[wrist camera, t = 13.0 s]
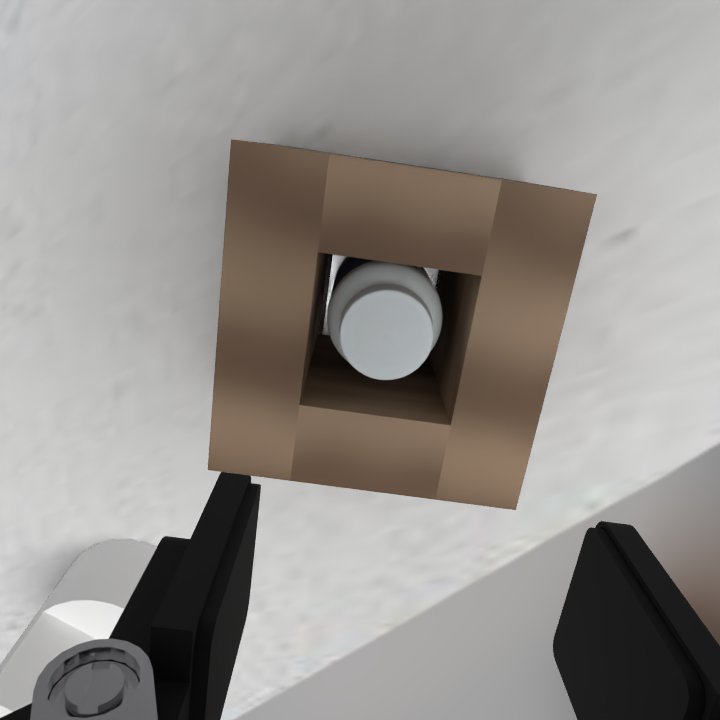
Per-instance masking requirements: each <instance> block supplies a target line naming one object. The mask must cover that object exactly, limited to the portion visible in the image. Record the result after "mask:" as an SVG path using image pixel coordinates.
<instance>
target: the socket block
mask: <svg viewBox="0 0 720 720" xmlns="http://www.w3.org/2000/svg"><path fill="white" fill-rule="evenodd" d="M596 196H597V194H591V193H585V192H579V191H574V190H568V189H562V188H556V187H550V186H544V185H538V184H533V183H527V182H520V181H514V180H507V179H500V178H494V177H487V176H480V175H474V174H467V173H461V172H454V171H447V170H441V169H434V168H427V167H421V166H414V165H407V164H401V163H394V162H387V161H381V160H374V159H368V158H361V157H354V156H348V155H341V154H334V153H328V152H321V151H314V150H308V149H301V148H294V147H288V146H281V145H275V144H266V143H257V142H249V141H240V140H231V150H230V164H229V178H228V193H227V207H226V221H225V235H224V249H223V263H222V277H221V291H220V305H219V319H218V333H217V347H216V361H215V375H214V389H213V404H212V418H211V432H210V446H209V460H208V470H213V471H221V472H228V473H236V474H244V475H251V476H259V477H267V478H274V479H282V480H290V481H297V482H305V483H313V484H320V485H328V486H336V487H343V488H351V489H359V490H366V491H374V492H382V493H390V494H397V495H405V496H413V497H420V498H428V499H436V500H443V501H451V502H459V503H466V504H474V505H482V506H489V507H497V508H505V509H512V510H516V506H517V503H518V499H519V495H520V491H521V487H522V483H523V479H524V475H525V472H526V468H527V464H528V460H529V456H530V452H531V448H532V444H533V441H534V437H535V433H536V429H537V425H538V421H539V417H540V413H541V410H542V406H543V402H544V398H545V394H546V390H547V386H548V382H549V378H550V375H551V371H552V367H553V363H554V359H555V355H556V351H557V347H558V344H559V340H560V336H561V332H562V328H563V324H564V320H565V316H566V313H567V309H568V305H569V301H570V297H571V293H572V289H573V285H574V282H575V278H576V274H577V270H578V266H579V262H580V258H581V254H582V250H583V247H584V243H585V239H586V235H587V231H588V227H589V223H590V219H591V216H592V212H593V208H594V204H595V200H596ZM328 254H334V255H341V256H348V257H355V258H362V259H369V260H376V261H382V262H389V263H396V264H403V265H410V266H417V267H424V268H431V269H438V270H441V275H440V280H439V286H438V291H437V293H438V295H439V298H440V302H441V307H442V327H441V332H440V335H439V337H438V340H437V342H436V344H435V346H434V347H433V349H432V350H431V351H430V353H429V355H428V357H427V358H426V360H425V361H424V362H423V364H422V365H421V366H420V367H419V368H418V369H416V370H415V371H414V372H412V373H411V374H409V375H407V376H404V377H402V378H398V379H394V380H378V379H374V378H370V377H368V376H365V375H364V374H362V373H360V372H359V371H357V370H356V369H355V368H354V367H353V366H352V365H351V364H350V363H349V362H348V361H347V360H346V359H344V358H343V357H342V355H341V354H340V353H339V352H338V351H337V349H336V347H335V346H334V344H333V342H332V340H331V337H330V335H323V334H318V331H319V323H320V315H321V307H322V299H323V291H324V284H325V276H326V268H327V260H328Z"/></svg>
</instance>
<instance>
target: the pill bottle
mask: <svg viewBox="0 0 720 720" xmlns="http://www.w3.org/2000/svg"><path fill="white" fill-rule="evenodd" d="M327 324H328V330H329V334H330V337H331V340H332V342H333V344H334V346H335V347H336V349H337V351H338V352H339V353H340V354H341V355H342V357H343V358H344V359H346V360H347V361H348V362H349V363H350V364H351V365H352V366H353V367H354V368H355V369H356V370H357V371H359V372H360V373H362V374H364V375H365V376H368V377H370V378H374V379H378V380H394V379H398V378H402V377H404V376H407V375H409V374H411V373H412V372H414V371H415V370H416V369H418V368H419V367H420V366H421V365H422V364H423V362H424V361H425V360H426V358H427V357H428V355H429V353H430V351H431V350H432V349H433V347H434V346H435V344H436V342H437V340H438V337H439V335H440V332H441V327H442V307H441V302H440V298H439V295H438V293H437V291H436V289H435V287H434V286H433V284H432V282H431V280H430V278H429V276H428V274H427V273H426V271H425V269H424V267H417V266H410V265H403V264H396V263H389V262H382V261H376V260H369V259H362V258H355V257H347V258H346V259H345V260H344V261H343V263H342V264H341V266H340V267H339V269H338V271H337V273H336V277H335V280H334V284H333V288H332V293H331V297H330V301H329V305H328V310H327Z"/></svg>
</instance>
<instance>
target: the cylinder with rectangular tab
mask: <svg viewBox="0 0 720 720" xmlns="http://www.w3.org/2000/svg"><path fill="white" fill-rule="evenodd" d="M156 548H157V546H154V545H152V544H150V543H147V542H143V541H138V540H132V539H112V540H109V541H105V542H101V543H97V544H95V545H94V546H92V547H90V548H88V549H87V550H85V551H83V552H82V554H81V555H80V556H79V557H78V558H77V559H76V560H75V561H74V562H73V564H72V565H71V566H70V568H69V569H68V571H67V572H66V573H65V575H64V576H63V578H62V579H61V580H60V582H59V583H58V585H57V586H56V587H55V589H54V590H53V592H52V593H51V594H50V596H49V597H48V599H47V600H46V601H45V603H44V604H43V606H42V607H41V608H40V610H39V611H38V613H37V614H36V615H35V617H34V618H33V620H32V621H31V622H30V624H29V625H28V627H27V628H26V629H25V631H24V632H23V634H22V635H21V636H20V638H19V639H18V641H17V642H16V643H15V645H14V646H13V648H12V649H11V650H10V652H9V653H8V654H7V656H6V657H5V659H4V660H3V661H2V663H1V664H0V718H1V717H3V716H5V715H7V714H10V713H12V712H14V711H16V710H18V709H20V708H22V707H24V706H26V705H28V704H30V703H32V699H33V691H34V688H35V685H36V681H37V678H38V676H39V675H40V674H41V672H42V671H43V669H44V668H45V667H46V665H47V664H48V663H49V662H50V661H52V660H53V659H54V658H55V657H57V656H58V655H59V654H60V653H61V652H63V651H65V650H67V649H69V648H71V647H73V646H75V645H77V644H81V643H84V642H88V641H92V640H96V639H109V637H110V635H111V633H112V631H113V629H114V627H115V625H116V624H117V622H118V620H119V618H120V616H121V614H122V612H123V610H124V609H125V607H126V605H127V603H128V601H129V599H130V597H131V595H132V593H133V592H134V590H135V588H136V586H137V584H138V582H139V580H140V578H141V577H142V575H143V573H144V571H145V569H146V567H147V565H148V563H149V561H150V560H151V558H152V556H153V554H154V552H155V550H156Z"/></svg>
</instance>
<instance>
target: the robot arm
mask: <svg viewBox="0 0 720 720" xmlns="http://www.w3.org/2000/svg"><path fill="white" fill-rule="evenodd" d="M260 490H261V485H260V484H252V483H251V476H250V475H243V474H235V473H227V472H221V473H220V475H219V477H218V480H217V482H216V484H215V486H214V488H213V491H212V493H211V495H210V497H209V499H208V502H207V504H206V506H205V508H204V510H203V513H202V515H201V517H200V519H199V521H198V524H197V526H196V528H195V530H194V532H193V535H192V537H191V539H184V538H176V537H168V536H165V537H163V538H162V540H161V541H160V543H159V545H158V546H157V548H156V550H155V552H154V554H153V556H152V558H151V560H150V561H149V563H148V565H147V567H146V569H145V571H144V573H143V575H142V577H141V578H140V580H139V582H138V584H137V586H136V588H135V590H134V592H133V593H132V595H131V597H130V599H129V601H128V603H127V605H126V607H125V609H124V610H123V612H122V614H121V616H120V618H119V620H118V622H117V624H116V625H115V627H114V629H113V631H112V633H111V635H110V637H109V639H96V640H92V641H88V642H84V643H81V644H77V645H75V646H73V647H71V648H69V649H67V650H65V651H63V652H61V653H60V654H59V655H58V656H57V657H55V658H54V659H53V660H52V661H50V662H49V663H48V664H47V665H46V667H45V668H44V669H43V671H42V672H41V674H40V675H39V676H38V678H37V681H36V685H35V688H34V691H33V699H32V703H30V704H28V705H26V706H24V707H22V708H20V709H18V710H16V711H14V712H12V713H10V714H7V715H5V716H3V717H1V718H0V720H220V718H221V715H222V711H223V707H224V703H225V699H226V695H227V691H228V687H229V683H230V680H231V676H232V672H233V668H234V664H235V660H236V656H237V652H238V648H239V645H240V641H241V637H242V633H243V629H244V625H245V621H246V617H247V611H248V605H249V597H250V588H251V578H252V568H253V559H254V549H255V539H256V530H257V520H258V510H259V500H260ZM553 652H554V658H555V661H556V664H557V666H558V669H559V672H560V674H561V677H562V680H563V682H564V685H565V687H566V690H567V693H568V696H569V698H570V701H571V703H572V706H573V709H574V712H575V714H576V717H577V719H578V720H720V646H719V645H718V643H717V642H716V640H715V639H714V638H713V636H712V635H711V633H710V632H709V631H708V629H707V628H706V626H705V625H704V624H703V622H702V621H701V620H700V618H699V617H698V615H697V614H696V613H695V611H694V610H693V608H692V607H691V606H690V604H689V603H688V601H687V600H686V599H685V597H684V596H683V595H682V593H681V592H680V590H679V589H678V588H677V586H676V585H675V583H674V582H673V581H672V579H671V578H670V577H669V575H668V574H667V573H666V571H665V570H664V568H663V567H662V565H661V564H660V563H659V561H658V560H657V558H656V557H655V556H654V554H653V553H652V551H651V550H650V549H649V548H648V546H647V545H646V543H645V542H644V540H643V539H642V538H641V536H640V535H639V533H638V532H637V531H636V529H635V528H634V527H633V526H631V525H626V524H618V523H611V522H603V521H601V522H599V523H598V524H597V525H596V527H595V528H589V529H588V530H587V532H586V534H585V537H584V541H583V544H582V547H581V551H580V554H579V557H578V561H577V564H576V567H575V570H574V573H573V577H572V580H571V583H570V587H569V590H568V593H567V597H566V600H565V603H564V606H563V610H562V613H561V616H560V619H559V624H558V626H557V629H556V633H555V636H554V640H553Z"/></svg>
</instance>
